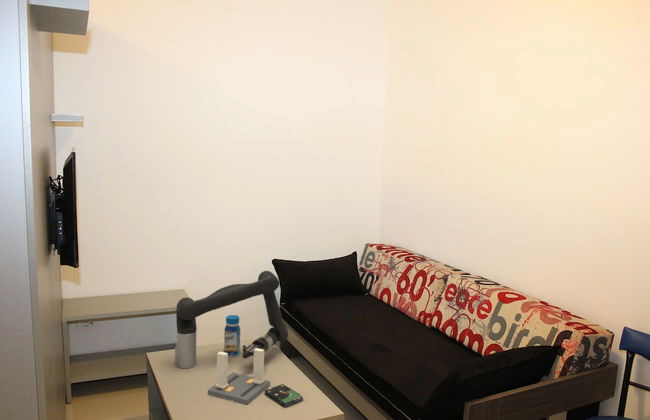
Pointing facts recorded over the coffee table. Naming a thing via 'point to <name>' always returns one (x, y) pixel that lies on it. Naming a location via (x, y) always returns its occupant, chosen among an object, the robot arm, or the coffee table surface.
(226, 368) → the beige square pillar
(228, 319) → the beverage bottle
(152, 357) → the coffee table surface
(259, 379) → the beige tall rectangular block
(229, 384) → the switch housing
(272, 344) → the robot arm
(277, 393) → the disk drive
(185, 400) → the coffee table surface
